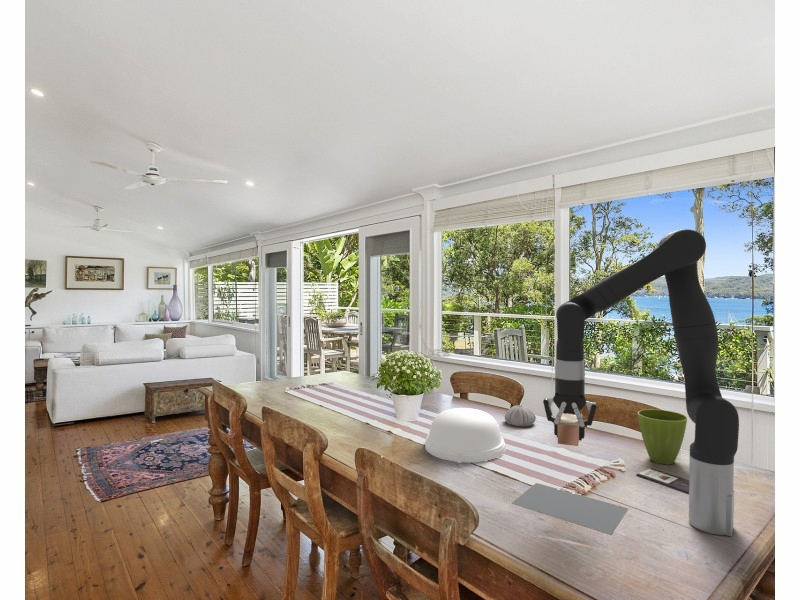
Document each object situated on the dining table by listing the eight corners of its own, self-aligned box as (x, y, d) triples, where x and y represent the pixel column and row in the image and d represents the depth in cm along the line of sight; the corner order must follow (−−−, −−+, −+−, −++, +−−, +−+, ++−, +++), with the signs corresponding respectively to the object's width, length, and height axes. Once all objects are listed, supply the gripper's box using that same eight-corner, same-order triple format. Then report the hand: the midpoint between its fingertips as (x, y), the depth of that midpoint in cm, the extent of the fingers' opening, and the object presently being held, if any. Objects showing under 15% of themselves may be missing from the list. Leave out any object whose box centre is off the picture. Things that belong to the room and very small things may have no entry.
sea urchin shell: (524, 430, 194) (524, 411, 194) (498, 423, 204) (498, 405, 204) (541, 424, 203) (541, 406, 203) (515, 417, 213) (515, 400, 213)
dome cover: (433, 432, 193) (433, 398, 193) (506, 437, 185) (506, 403, 185) (416, 459, 162) (416, 420, 162) (503, 468, 154) (503, 426, 154)
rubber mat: (628, 510, 124) (628, 508, 124) (611, 536, 111) (611, 534, 111) (536, 484, 141) (536, 482, 141) (511, 504, 128) (511, 503, 128)
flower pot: (631, 460, 160) (632, 415, 159) (644, 449, 171) (644, 406, 170) (680, 472, 149) (681, 423, 149) (690, 459, 160) (691, 414, 160)
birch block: (580, 415, 130) (577, 427, 119) (580, 432, 130) (578, 446, 119) (561, 413, 132) (557, 424, 121) (561, 430, 132) (557, 443, 121)
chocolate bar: (697, 495, 132) (636, 474, 147) (697, 498, 132) (636, 477, 147) (712, 487, 137) (651, 468, 152) (712, 490, 137) (651, 470, 152)
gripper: (540, 376, 124) (540, 439, 125) (598, 380, 118) (597, 446, 119) (543, 371, 131) (543, 431, 131) (598, 375, 125) (598, 437, 126)
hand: (569, 438), depth 125 cm, fingers closed on birch block, 5 cm apart
